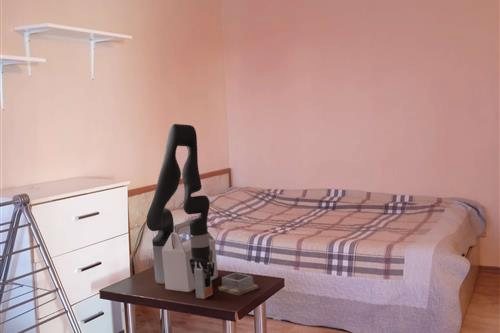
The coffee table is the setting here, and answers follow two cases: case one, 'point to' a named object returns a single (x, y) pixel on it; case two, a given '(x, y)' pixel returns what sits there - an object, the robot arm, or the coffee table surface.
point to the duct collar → (237, 281)
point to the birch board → (238, 291)
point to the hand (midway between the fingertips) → (203, 285)
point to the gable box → (182, 260)
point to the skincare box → (201, 284)
